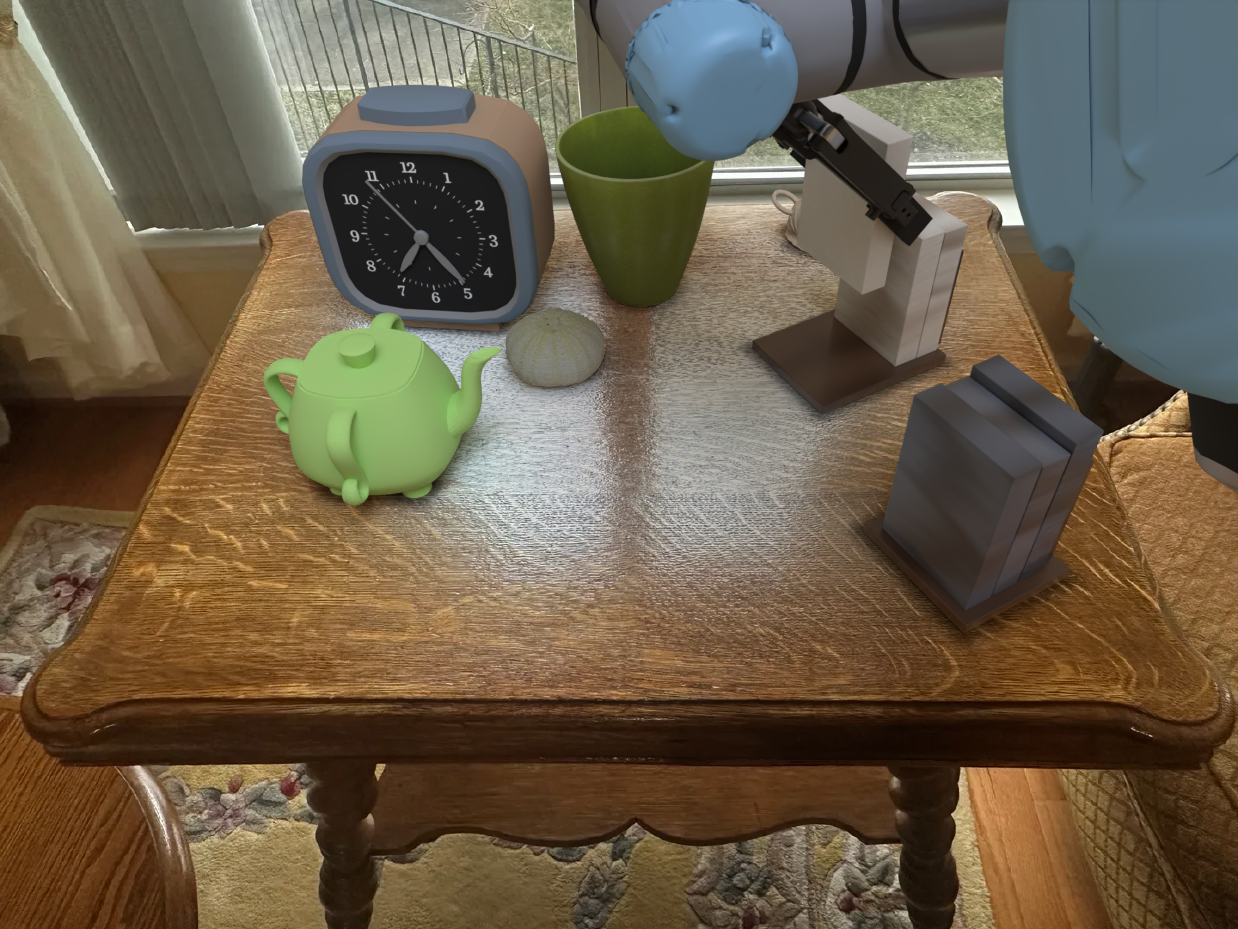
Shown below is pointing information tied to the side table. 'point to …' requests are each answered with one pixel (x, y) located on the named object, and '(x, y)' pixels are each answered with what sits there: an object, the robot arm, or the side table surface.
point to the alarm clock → (433, 205)
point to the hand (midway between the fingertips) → (877, 203)
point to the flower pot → (633, 202)
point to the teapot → (375, 410)
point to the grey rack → (985, 491)
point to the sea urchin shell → (555, 348)
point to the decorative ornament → (790, 215)
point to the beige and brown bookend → (875, 323)
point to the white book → (850, 204)
